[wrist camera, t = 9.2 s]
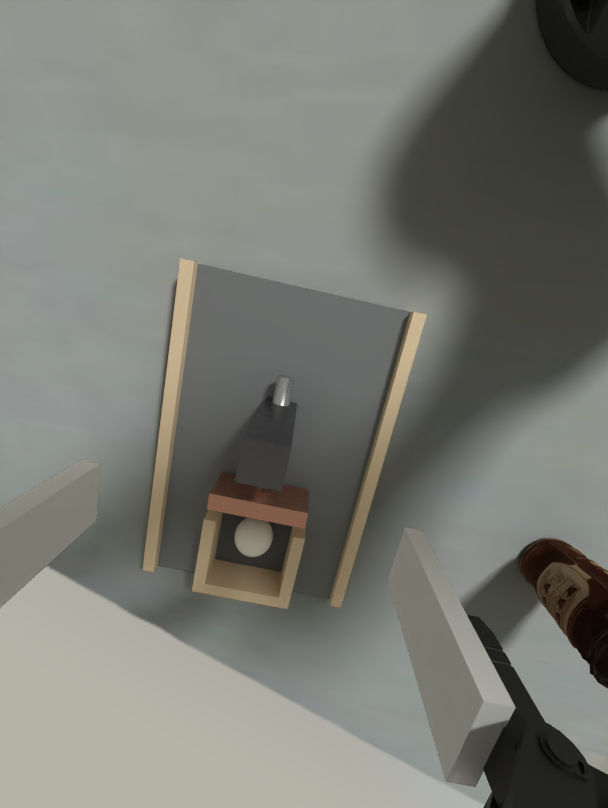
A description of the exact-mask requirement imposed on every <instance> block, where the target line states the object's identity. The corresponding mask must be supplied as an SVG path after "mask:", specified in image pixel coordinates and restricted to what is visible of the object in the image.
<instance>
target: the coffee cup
mask: <svg viewBox="0 0 608 808" xmlns="http://www.w3.org/2000/svg"><path fill="white" fill-rule="evenodd" d="M520 569H521V573H522V575H523V576H524V578H525V580H526V581H527V582H528V583H530V584H531V585H533V586H534V588H535V590H536V593H537V595H538V597H539V600H540V602H541V603H542V605H543V606H544V607H545V608H546V609H547V611H548V612H549V613H550V614H551V616H552V617H553V618H554V620H555V621H556V623H557V625H558V626H559V627H560V629H561V630H562V631H563V633H564V634H565V635H566V636H567V638H568V639H569V642H570V643H571V644H572V646H573V647H574V648H576V649H577V650H578V651H579V653H580V654H581V656H582V658H583V659H584V660H586V661H587V662H588V663H589V665H590V674H592V675H593V676H594V677H595V679H596V680H597V681H598V683H600V684H602V685H603V686H605V687H606V688H608V571H607V570H605V569H603V568H602V567H601V566H599V565H598V564H597V563H595V562H594V561H592V560H590V559H587V557H586V556H585V555H584V554H582V553H581V552H580V551H578V550H577V549H575V548H573V547H572V546H571V545H569V544H568V543H566V542H564V541H562V540H559V539H555V538H544V539H541V540H539V541H537V542H535V543H533V544H532V545H530V546H529V547H528V548H527V549H526V551H525V552H524V554H523V556H522V558H521V560H520Z"/></svg>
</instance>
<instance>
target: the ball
mask: <svg viewBox="0 0 608 808" xmlns="http://www.w3.org/2000/svg"><path fill="white" fill-rule="evenodd" d="M234 538H235V544H236V547H237V548H238V550H239V551H240V552H241V553H242V554H244V555H246V556H249V557H257V556H260V555H262V554H264V553H265V552H266V551H267V550H268V549H269V547H270V545H271V543H272V540H273V531H272V528H271V525H270V524H269V522H268V521H263V520H258V519H253V518H246V519H244V520H243V521H241V522H240V524H239V525H238V526H237V529H236V531H235V537H234Z"/></svg>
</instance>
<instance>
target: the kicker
mask: <svg viewBox="0 0 608 808" xmlns="http://www.w3.org/2000/svg"><path fill="white" fill-rule="evenodd" d="M294 382H295V378H293V377H289V376H285V375H278V376H277V381H276V386H275V391H274V396H273V398H271V397H266V399H265V401H264V403H263V404H262V406H261V408H260V409H259V411H258V413H257V415H256V416H255V418H254V420H253V421H252V423H251V425H250V426H249V428H248V430H247V432H246V433H245V435H244V437H243V440H242V445H241V451H240V456H239V462H238V467H237V473H236V475H234V474H229V473H224V472H222V473H221V475H220V477H219V478H218V480H217V482H216V483H215V485H214V487H213V488H212V490H211V492H210V493H209V499H208V506H207V509H208V510H213V511H218V512H223V513H228V514H233V515H238V516H243V517H248V518H253V519H258V520H263V521H268V522H273V523H278V524H283V525H288V526H293V527H298V528H303V529H305V525H306V521H307V517H308V490H307V489H302V488H298V487H293V486H288V485H283V483H284V479H285V474H286V470H287V465H288V461H289V456H290V452H291V447H292V440H293V432H294V425H295V417H296V410H297V403H294V402H290V401H291V396H292V391H293V386H294Z"/></svg>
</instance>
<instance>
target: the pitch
mask: <svg viewBox="0 0 608 808" xmlns="http://www.w3.org/2000/svg"><path fill="white" fill-rule="evenodd" d="M426 316H427V315H426V314H422V313H417V312H407V311H403V310H398V309H394V308H390V307H385V306H381V305H377V304H372V303H368V302H363V301H359V300H355V299H350V298H346V297H341V296H337V295H333V294H328V293H324V292H320V291H315V290H311V289H306V288H302V287H298V286H293V285H289V284H284V283H280V282H276V281H271V280H267V279H263V278H258V277H254V276H249V275H245V274H241V273H236V272H232V271H227V270H223V269H219V268H214V267H210V266H206V265H201V264H197V263H196V262H194V261H189V260H185V259H181V258H180V264H179V273H178V281H177V289H176V298H175V306H174V314H173V322H172V331H171V339H170V347H169V355H168V364H167V372H166V380H165V388H164V397H163V405H162V413H161V422H160V430H159V438H158V446H157V455H156V463H155V471H154V479H153V488H152V496H151V504H150V513H149V521H148V529H147V537H146V546H145V554H144V562H143V570H145V571H150V572H154V571H155V569H156V568H157V566H163V567H168V568H173V569H178V570H183V571H189V572H194V573H195V575H194V581H193V587H192V591H193V592H199V593H204V594H209V595H215V596H220V597H225V598H230V599H236V600H241V601H246V602H251V603H257V604H262V605H267V606H273V607H278V608H283V609H288V606H289V602H290V598H291V594H292V591H293V592H298V593H303V594H309V595H314V596H319V597H324V598H329V599H330V606H334V607H339V608H341V606H342V602H343V599H344V595H345V592H346V589H347V585H348V582H349V578H350V575H351V571H352V568H353V565H354V561H355V558H356V554H357V551H358V548H359V544H360V541H361V537H362V534H363V531H364V527H365V524H366V520H367V517H368V514H369V510H370V507H371V503H372V500H373V497H374V493H375V490H376V486H377V483H378V479H379V476H380V473H381V469H382V466H383V462H384V459H385V456H386V452H387V449H388V445H389V442H390V439H391V435H392V432H393V428H394V425H395V422H396V418H397V415H398V411H399V408H400V405H401V401H402V398H403V394H404V391H405V388H406V384H407V381H408V377H409V374H410V370H411V367H412V364H413V360H414V357H415V353H416V350H417V347H418V343H419V340H420V336H421V333H422V330H423V326H424V323H425V319H426ZM278 375H285V376H289V377H293V378H295V382H294V386H293V391H292V396H291V401H290V402H294V403H297V410H296V417H295V425H294V432H293V440H292V447H291V452H290V456H289V461H288V465H287V470H286V474H285V479H284V483H283V485H288V486H293V487H298V488H302V489H307V490H308V517H307V521H306V525H305V529H303V528H298V527H293V526H288V525H283V524H278V523H273V522H269V524H270V525H271V528H272V531H273V540H272V543H271V545H270V547H269V549H268V550H267V551H266V552H265V553H264V554H262V555H260V556H257V557H249V556H246V555H244V554H242V553H241V552H240V551H239V550H238V548H237V547H236V544H235V538H234V537H235V531H236V529H237V526H238V525H239V524H240V522H241V521H243V520H244V519H246V518H248V517H243V516H238V515H233V514H228V513H223V512H218V511H213V510H208V509H207V506H208V499H209V493H210V492H211V490H212V488H213V487H214V485H215V483H216V482H217V480H218V478H219V477H220V475H221V473H222V472H224V473H229V474H234V475H236V473H237V467H238V462H239V456H240V451H241V445H242V440H243V437H244V435H245V433H246V432H247V430H248V428H249V426H250V425H251V423H252V421H253V420H254V418H255V416H256V415H257V413H258V411H259V409H260V408H261V406H262V404H263V403H264V401H265V399H266V397H271V398H273V396H274V391H275V386H276V381H277V376H278Z"/></svg>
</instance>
